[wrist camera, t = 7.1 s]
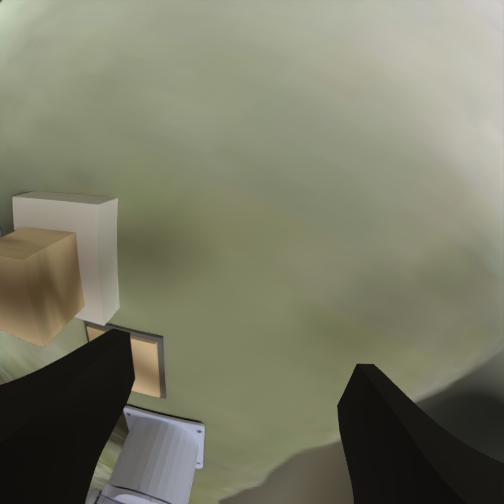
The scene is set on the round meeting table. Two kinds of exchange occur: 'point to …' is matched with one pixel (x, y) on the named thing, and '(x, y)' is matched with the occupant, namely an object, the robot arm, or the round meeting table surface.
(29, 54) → the round meeting table surface
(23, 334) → the maple cube
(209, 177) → the round meeting table surface
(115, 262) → the base block
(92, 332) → the tile
